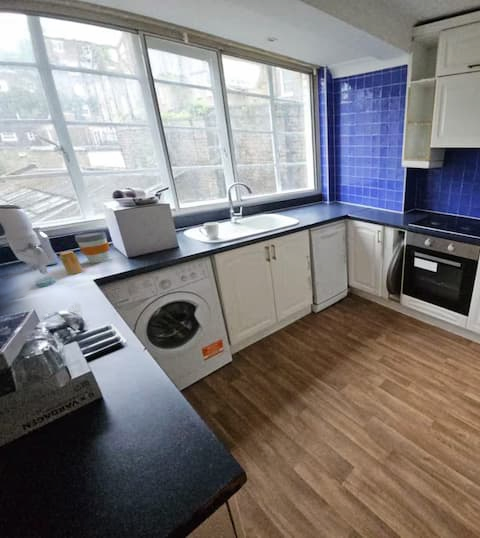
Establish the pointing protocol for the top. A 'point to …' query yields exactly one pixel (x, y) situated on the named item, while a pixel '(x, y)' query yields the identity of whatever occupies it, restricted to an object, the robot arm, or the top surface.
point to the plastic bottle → (46, 246)
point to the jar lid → (44, 282)
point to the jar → (70, 262)
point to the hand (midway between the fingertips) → (39, 271)
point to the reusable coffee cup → (94, 246)
